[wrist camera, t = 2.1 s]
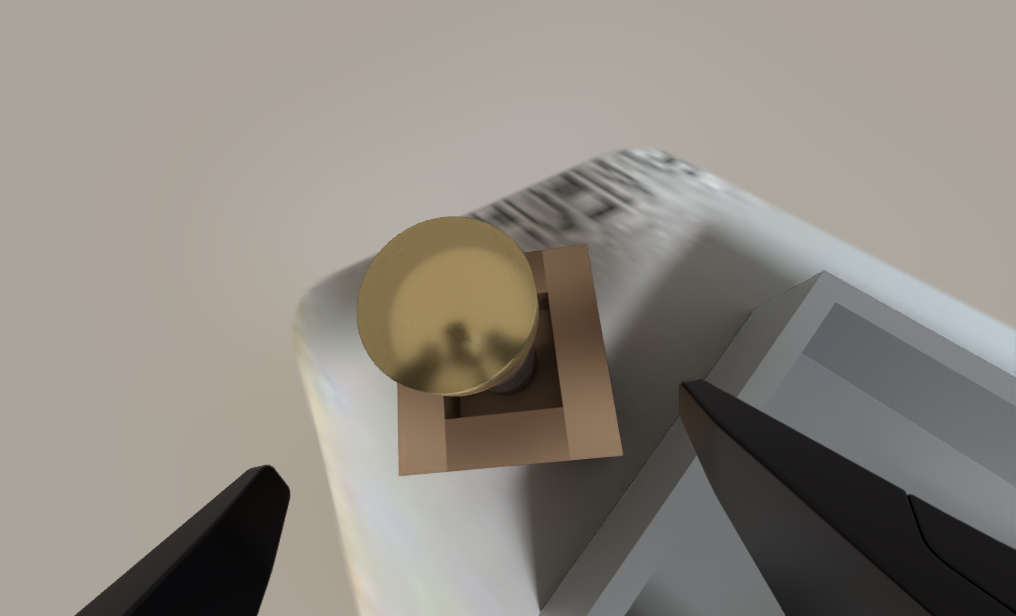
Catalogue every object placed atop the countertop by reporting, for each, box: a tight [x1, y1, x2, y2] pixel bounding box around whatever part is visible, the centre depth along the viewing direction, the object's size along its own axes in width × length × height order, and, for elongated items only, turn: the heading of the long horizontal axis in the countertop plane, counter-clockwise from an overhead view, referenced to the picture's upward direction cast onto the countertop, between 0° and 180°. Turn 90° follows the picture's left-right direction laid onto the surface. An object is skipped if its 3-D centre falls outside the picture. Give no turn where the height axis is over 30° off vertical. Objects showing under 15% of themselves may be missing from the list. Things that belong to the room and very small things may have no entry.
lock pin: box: [357, 217, 539, 396], centre depth 13 cm, size 4×4×10 cm
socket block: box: [397, 244, 623, 476], centre depth 17 cm, size 8×8×4 cm
